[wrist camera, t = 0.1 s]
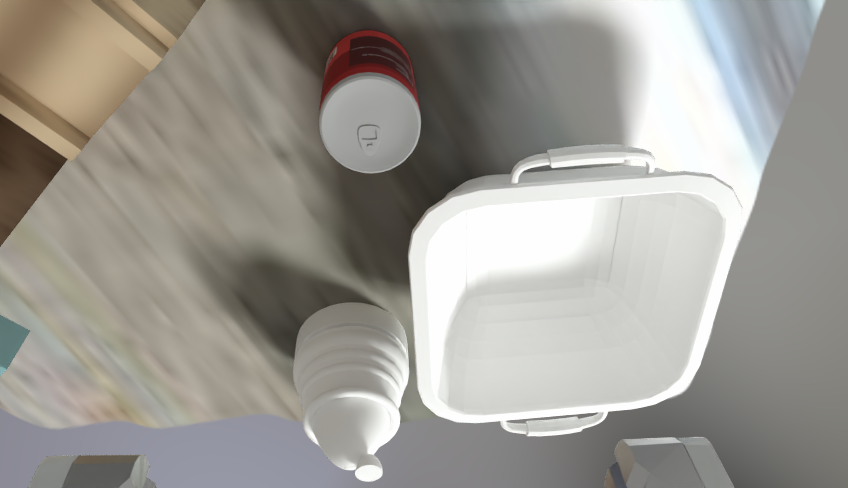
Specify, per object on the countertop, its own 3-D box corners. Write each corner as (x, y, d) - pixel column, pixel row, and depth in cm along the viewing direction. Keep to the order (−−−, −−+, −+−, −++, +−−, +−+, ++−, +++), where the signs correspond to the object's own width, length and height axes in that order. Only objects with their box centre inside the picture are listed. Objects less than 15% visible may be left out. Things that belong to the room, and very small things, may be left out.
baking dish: (644, 342, 79) (685, 426, 69) (414, 361, 78) (421, 450, 68) (703, 75, 59) (774, 138, 49) (394, 97, 58) (401, 165, 48)
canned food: (341, 123, 59) (338, 184, 50) (312, 40, 55) (302, 91, 46) (422, 102, 59) (433, 160, 50) (399, 16, 54) (406, 63, 45)
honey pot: (385, 289, 71) (391, 420, 57) (420, 364, 79) (433, 497, 64) (277, 320, 73) (256, 456, 58) (322, 392, 80) (313, 528, 66)
